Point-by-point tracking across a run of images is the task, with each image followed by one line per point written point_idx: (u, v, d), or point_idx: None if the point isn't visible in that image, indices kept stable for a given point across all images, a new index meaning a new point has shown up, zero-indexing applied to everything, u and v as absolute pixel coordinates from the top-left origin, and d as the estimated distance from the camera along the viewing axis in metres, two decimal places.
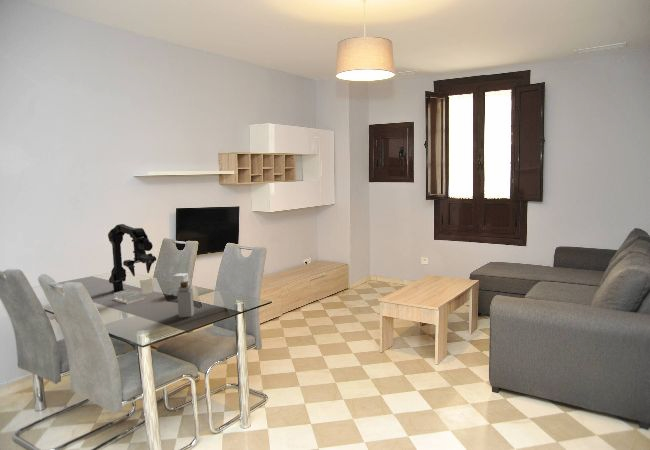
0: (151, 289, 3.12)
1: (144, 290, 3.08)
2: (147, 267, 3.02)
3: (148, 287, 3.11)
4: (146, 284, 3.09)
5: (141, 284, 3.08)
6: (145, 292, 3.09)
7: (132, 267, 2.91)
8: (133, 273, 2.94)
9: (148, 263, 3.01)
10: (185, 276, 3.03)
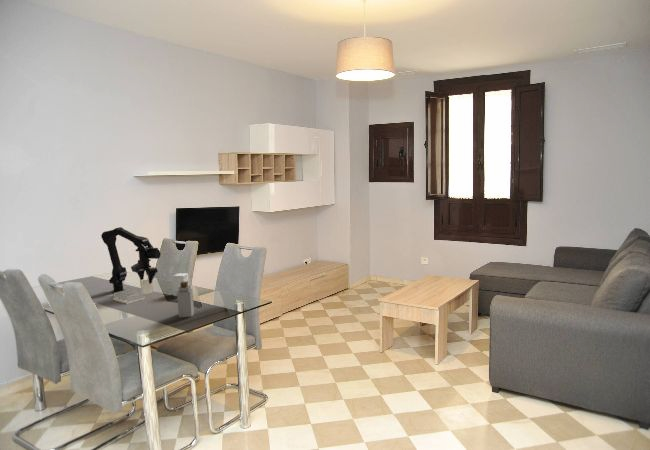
0: (151, 289, 3.12)
1: (144, 290, 3.08)
2: None
3: (148, 287, 3.11)
4: (146, 284, 3.09)
5: (141, 284, 3.08)
6: (145, 292, 3.09)
7: (136, 272, 3.12)
8: None
9: None
10: (185, 276, 3.03)
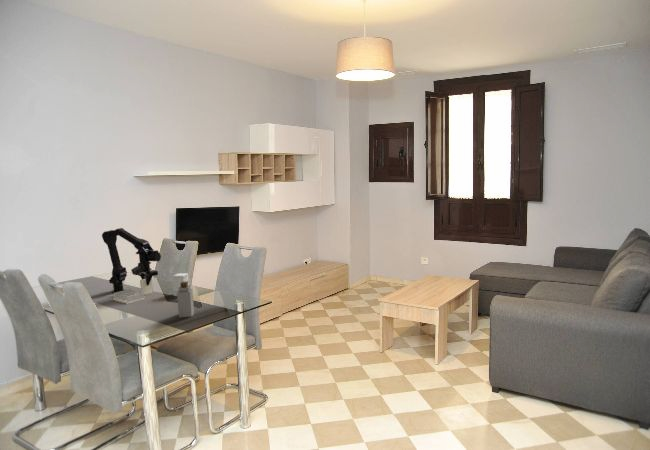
0: (151, 289, 3.12)
1: (144, 290, 3.08)
2: None
3: (148, 287, 3.11)
4: (146, 284, 3.09)
5: (141, 284, 3.08)
6: (145, 292, 3.09)
7: None
8: None
9: None
10: (185, 276, 3.03)
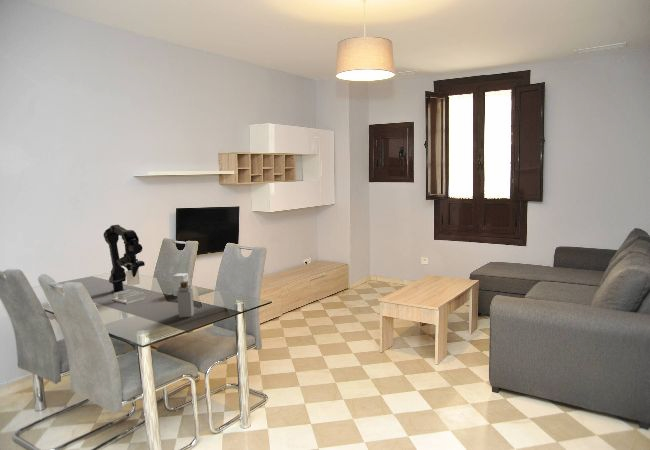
0: (138, 281, 3.02)
1: (130, 281, 2.98)
2: None
3: (134, 278, 3.00)
4: None
5: (127, 275, 2.97)
6: (131, 284, 2.99)
7: None
8: None
9: None
10: (185, 276, 3.03)
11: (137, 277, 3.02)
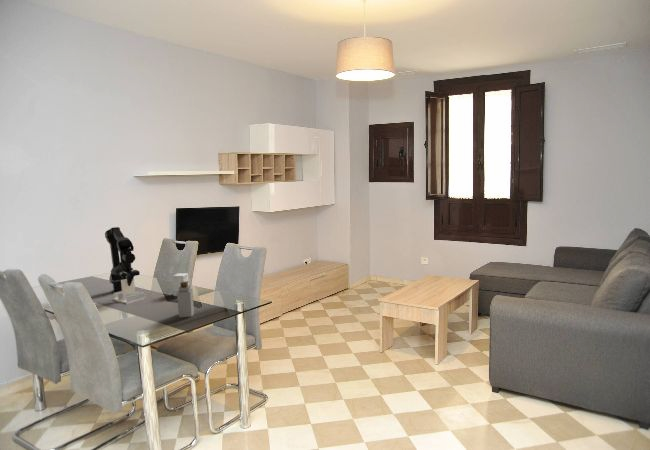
0: (133, 290, 2.99)
1: (125, 291, 2.95)
2: None
3: (130, 287, 2.97)
4: None
5: (122, 284, 2.95)
6: (126, 293, 2.96)
7: (120, 275, 2.97)
8: None
9: None
10: (185, 276, 3.03)
11: (132, 286, 2.99)
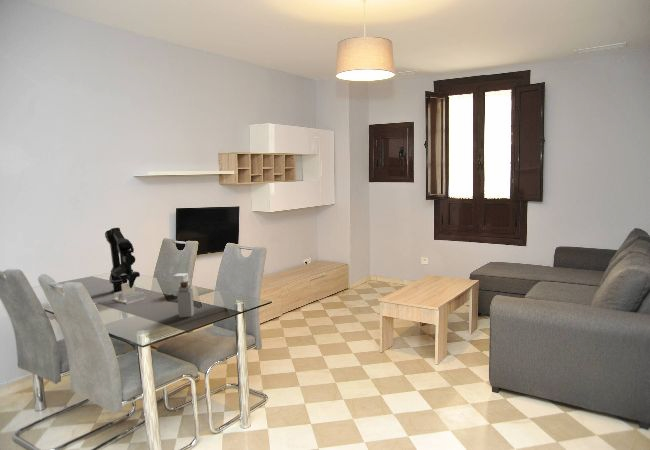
0: None
1: None
2: None
3: (130, 291, 2.98)
4: (128, 288, 2.97)
5: (122, 288, 2.95)
6: None
7: (119, 277, 2.98)
8: (123, 283, 2.99)
9: None
10: (185, 276, 3.03)
11: (133, 290, 2.99)
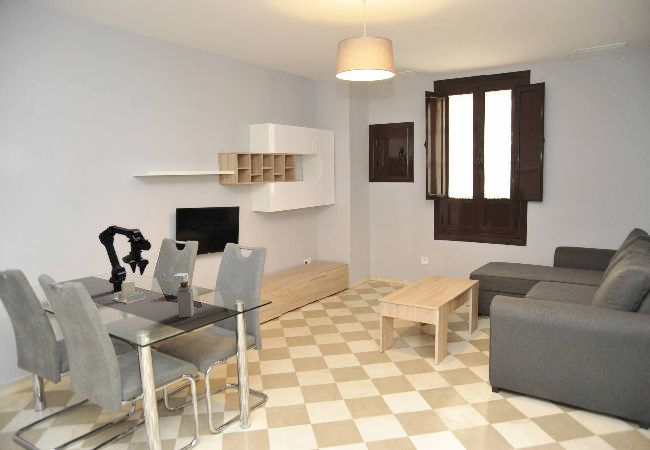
0: None
1: None
2: None
3: (130, 291, 2.98)
4: (128, 288, 2.97)
5: (122, 288, 2.95)
6: None
7: None
8: None
9: None
10: (185, 276, 3.03)
11: (133, 290, 2.99)
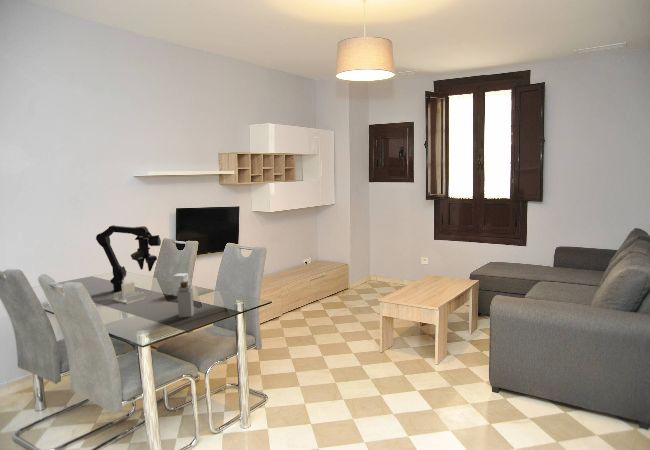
0: None
1: None
2: None
3: (130, 291, 2.98)
4: (128, 288, 2.97)
5: (122, 288, 2.95)
6: None
7: (136, 260, 3.18)
8: None
9: None
10: (185, 276, 3.03)
11: (133, 290, 2.99)
